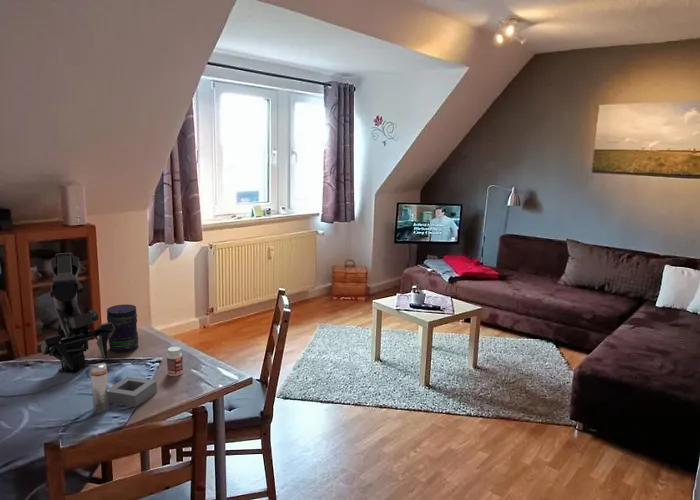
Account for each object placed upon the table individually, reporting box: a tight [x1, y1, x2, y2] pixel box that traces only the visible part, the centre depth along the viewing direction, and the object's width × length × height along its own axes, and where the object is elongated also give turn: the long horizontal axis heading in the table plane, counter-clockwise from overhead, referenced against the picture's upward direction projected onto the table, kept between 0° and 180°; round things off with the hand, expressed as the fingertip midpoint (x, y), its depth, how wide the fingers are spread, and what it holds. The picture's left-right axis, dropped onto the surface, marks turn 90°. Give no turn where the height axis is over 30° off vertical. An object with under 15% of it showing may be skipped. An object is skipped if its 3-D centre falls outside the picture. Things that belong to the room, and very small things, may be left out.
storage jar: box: [106, 303, 140, 354], centre depth 190 cm, size 10×10×15 cm
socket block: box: [108, 375, 158, 408], centre depth 155 cm, size 10×10×4 cm
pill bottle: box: [166, 346, 184, 377], centre depth 171 cm, size 5×5×8 cm
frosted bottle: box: [89, 362, 110, 415], centre depth 147 cm, size 4×4×13 cm
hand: (89, 363), depth 149 cm, fingers open, 9 cm apart
